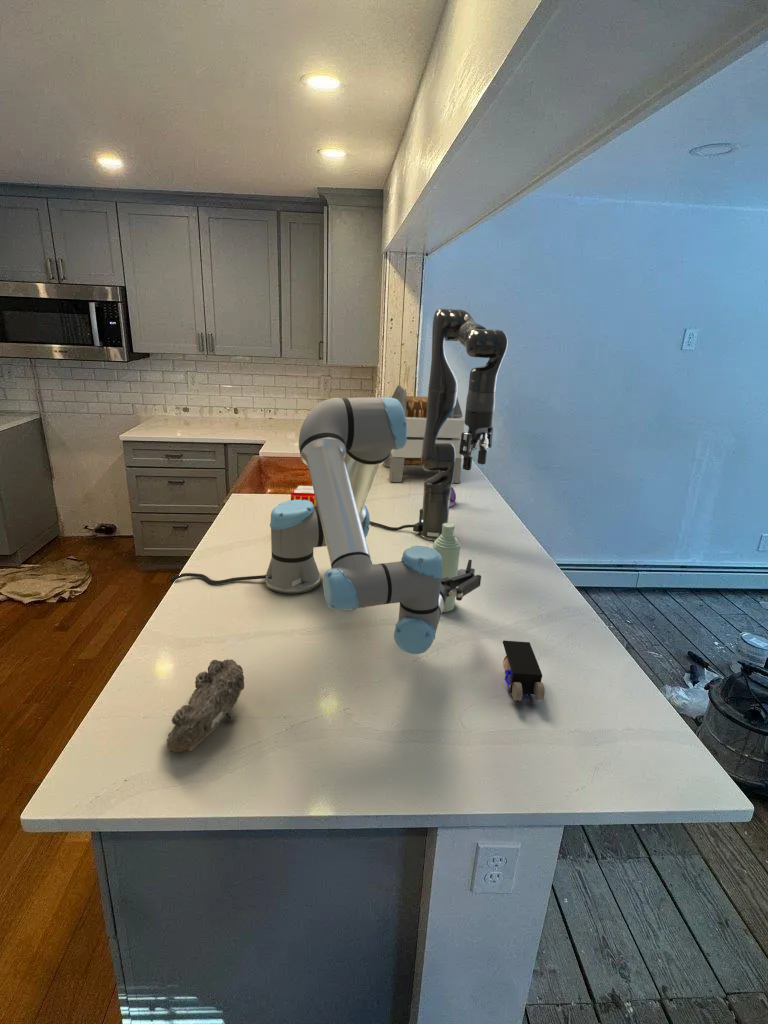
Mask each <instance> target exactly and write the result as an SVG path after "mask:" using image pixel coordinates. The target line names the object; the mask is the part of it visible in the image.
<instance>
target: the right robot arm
mask: <svg viewBox="0 0 768 1024" xmlns="http://www.w3.org/2000/svg"><path fill="white" fill-rule="evenodd" d="M508 340H509V339H508V337H507V334H506V333H505V332H504V330H502V329H488V328H487V327H485V326H483V325H482V324H480V323H477V322H476V321H475V319H474V318H473V317H472V315H471V314H470V313H469V312H468V311H466V310H464V309H457V308H438V309H436V310H435V311H434V315H433V319H432V329H431V361H430V362H431V363H430V364H431V365H430V371H429V372H430V373H429V382H428V389H427V391H428V392H427V397H428V402H427V418H426V427H425V433H424V439H423V445H422V452H421V464H422V466H421V467H422V469H423V470H424V471H426V472H438V473H436V474H435V475H433V476H431V477H428V478H427V479H425V480H424V482H423V493H422V496H423V497H422V506H421V508H420V509H419V516H418V522H415V523H414V524H403V525H400V526H398V527H397V526H396V527H395V526H393V527H392V526H388V525H385V524H382V523H378V522H375V521H372V520H370V525H372V526H375V527H379V528H383V529H386V530H389V531H400V530H404V529H407V528H408V529H409V528H412V531H413V532H415V533H417V535H418V536H420V538H421V539H424V540H426V541H432V542H435V540H436V539H437V538H438V537H439V536H440V535H441V534H442V525H443V524H444V523H449V517H450V516H449V514H450V507H449V505H450V493H451V487H452V486H453V483H452V481H453V473H454V466H455V456H456V454H455V448H454V446H453V445H452V444H450V443H436V439H437V435H438V433H439V430H440V428H441V427H442V425H443V424H444V422H445V421H446V420H447V418H448V417H449V416H450V414H451V413H452V411H453V410H454V408H455V405H456V399H457V398H458V388H459V387H458V385H459V384H458V381H457V378H456V376H455V374H454V372H453V369H452V368H451V366H450V364H449V362H448V360H447V356H446V352H445V342H446V341H447V342H459V343H460V344H461V346H463V347H464V348H465V352H466V353H467V355H468V356H469V357H471V358H477V359H488V360H487V362H486V363H485V364H484V365H481V366H476V367H473V368H471V370H470V372H469V378H468V379H469V380H468V390H467V394H466V402H465V411H464V412H465V414H464V420H465V421H464V426H467V427H468V429H467V432H465V431H464V432H462V434H461V438H460V439H461V442H460V451H459V454H460V455H461V456H463V460H462V461H463V462H462V470H464V471H471V470H472V466H473V465H472V464H473V455H474V452H475V451H477V449H478V453H477V454H478V455H477V464H479V465H486V463H487V462H486V461H487V452H488V451H489V449H491V448H492V446H493V435H494V434H493V432H494V427H493V424H494V415H495V406H496V387H497V378H498V374H499V371H500V368H501V365H502V362H503V359H504V358H505V355H506V353H507V349H508V344H509V341H508ZM451 485H452V486H451Z"/></svg>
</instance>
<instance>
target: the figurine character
mask: <svg viewBox="0 0 768 1024" xmlns="http://www.w3.org/2000/svg"><path fill="white" fill-rule="evenodd" d="M502 645H503V650H504V652H505V654H506V655H505V656H504V658H503V661H502V665H503V669H504V673H505V676H504V681H505V683H506V684H507V687H508V692H509V694H511V695H512V699H513V701H515V702H516V704H517V705H520V704H521V702H520V701H522V699H523V696H526V695H527V698H528V701H529V704H530V705H531V706H533V705H534V703H535V702H534V699H535V701H544V699H545V697H546V694H545V693H546V690H545V685H544V683H543V682H542V680H543V679H542V678H543V672H542V670H541V668H540V665H539V663H538V661H537V658H536V654H535V652H534V649H533V647H532V644H531V642H530V641H519V640H504V639H503V640H502ZM509 677H510V680H509ZM533 697H534V699H533Z"/></svg>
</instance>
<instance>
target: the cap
mask: <svg viewBox="0 0 768 1024" xmlns="http://www.w3.org/2000/svg"><path fill="white" fill-rule="evenodd" d="M465 573H466V568H465V569H464V568H460V569H458V573H457V576H460V575H463V574H465Z"/></svg>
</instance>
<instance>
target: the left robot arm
mask: <svg viewBox="0 0 768 1024" xmlns="http://www.w3.org/2000/svg"><path fill="white" fill-rule="evenodd" d="M298 436H299V437H298V449H299V455H300V459H301V462H303V464H304V465H305V466H307V467H308V472H309V477H310V482H311V486H313V490H314V494H315V498H316V503H317V506H314V505H313V503H312V502H310V501H308V500H291V499H290V500H287V501H284V502H281V503H278V504H277V505H275V506H274V507H273V508H272V510H271V513H270V523H269V527H270V540H271V541H270V544H271V545H270V547H271V548H270V549H271V551H270V552H271V559H270V561H269V565H268V568H267V569H266V574H262V575H248V576H238V577H237V576H236V577H231V578H226V579H225V578H224V579H220V580H213V579H211V578H210V577H208V576H207V575H205V574H202V573H196V572H185V573H184V572H183V573H178V574H177V575H174V576H173V577H171V579H170V580H169V583H174V582H175V581H177V580H178V579H181V578H184V577H185V578H186V577H194V578H201V579H204V580H205V581H206V582H207V583H209V584H212V585H223V584H227V583H232V582H238V581H239V582H240V581H251V580H263V579H264V580H265V585H266V587H267V588H268V589H269V590H271V591H273V592H276V593H280V594H284V595H285V594H287V595H294V594H295V595H296V594H304V593H307V592H310V591H312V590H314V589H315V588H317V587H319V585H320V583H321V574H320V571H319V569H318V566H317V563H316V560H315V557H314V548H322V547H326V549H327V553H328V558H329V562H330V567H331V569H327V570H325V572H324V574H323V577H322V587H323V596H324V600H325V603H326V605H327V607H328V608H329V609H330V610H331V611H351V610H352V611H355V610H357V609H361V608H368V607H375V606H381V605H389V604H390V605H391V604H397V603H399V610H398V611H399V612H398V619H397V622H396V623H395V627H394V632H393V639H394V641H395V644H396V645H397V647H398V648H399V649H400V650H402V651H403V652H405V653H407V654H410V655H421V654H424V653H426V652H427V651H428V650H429V649H430V648H431V647H432V644H433V642H434V640H435V639H436V633H437V629H438V626H439V622H440V620H441V616H442V613H443V612H442V611H443V607H444V605H445V601H446V598H447V597H449V596H450V595H451V596H455V601H459V602H460V601H462V600H463V597H465V596H466V595H468V594H470V593H471V592H473V591H475V590H476V589H477V588H479V587H480V586H481V582H482V575H481V574H476V575H475V572H476V569H475V568H473V567H472V563H473V559H468V561H467V565H466V568H465V570H466V573H465V574H463V575H460V576H456V577H453V578H449V577H447V578H444V579H442V557H441V555H440V554H439V553H438V552H437V551H436V550H435V549H433V547H429V546H425V545H414V546H411V547H409V548H406V549H405V550H404V551H403V553H402V557H401V559H400V561H399V560H398V561H391V562H382V563H375V564H373V561H372V559H371V558H372V557H371V554H370V550H369V547H368V543H367V540H366V538H367V537H368V534H369V531H370V527H369V526H370V525H371V524H370V521H371V519H370V518H371V517H370V513H369V509H368V507H367V505H365V503H366V500H367V498H368V495H369V492H370V490H371V487H372V485H373V482H374V479H375V477H376V474H377V472H378V469H379V466H380V465H381V464H383V463H384V461H386V460H387V458H388V457H389V455H390V453H391V450H392V449H396V450H398V449H402V448H403V447H404V446H405V444H406V439H407V424H406V417H405V413H404V409H403V407H402V405H401V403H400V402H399V401H398V400H397V399H395V398H392V397H387V396H386V397H384V396H378V397H377V396H375V397H373V396H371V397H370V396H369V397H331V398H328V399H325V400H323V401H321V402H319V403H318V404H316V405H315V406H314V407H313V408H312V409H311V410H310V411H309V412H308V414H307V416H305V419H304V420H303V422H302V425H301V427H300V431H299V435H298ZM180 574H181V575H180ZM179 575H180V576H179Z"/></svg>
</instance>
